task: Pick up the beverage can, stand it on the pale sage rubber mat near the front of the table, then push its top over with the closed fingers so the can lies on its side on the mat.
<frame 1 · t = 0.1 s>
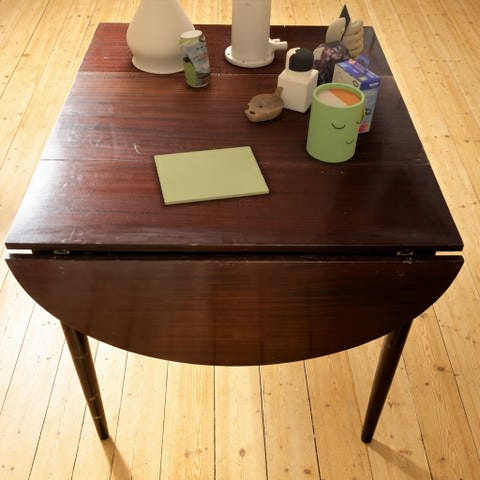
oil lamp: (266, 115, 138), on the table
ink cartridge box: (348, 124, 136), on the table
mineral specimen: (328, 82, 149), on the table
mat: (209, 175, 121), on the table
mug: (335, 148, 129), on the table
beverage can: (196, 84, 147), on the table
vase: (163, 60, 155), on the table
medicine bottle: (295, 103, 142), on the table
decorative object: (341, 62, 157), on the table
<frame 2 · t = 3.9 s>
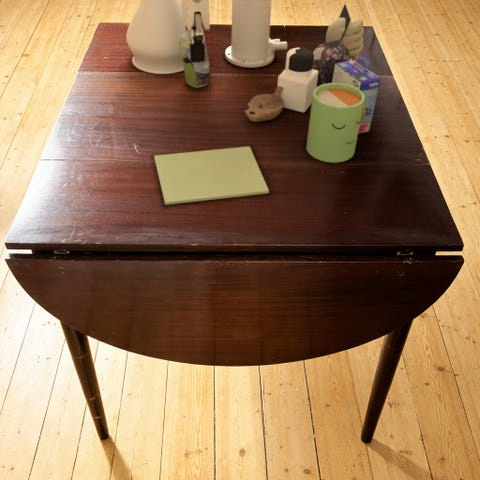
hand: (195, 53, 141), 7 cm above the table, tool pointing down, fingers closed on beverage can, 6 cm apart
beverage can: (196, 84, 146), on the table, touching gripper
everything else where it was.
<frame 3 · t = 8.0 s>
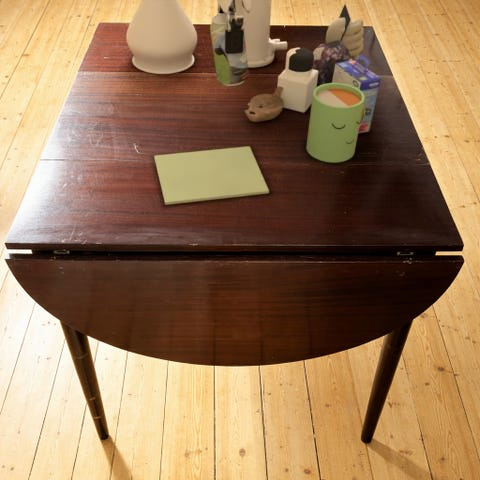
hand: (230, 43, 111), 22 cm above the table, tool pointing down, fingers closed on beverage can, 6 cm apart
beverage can: (229, 82, 116), point 15 cm above the table, touching gripper
everything else where it was.
when the fingers open (8 cm above the table, at t = 12.3 s): beverage can stays where it is, resting on mat.
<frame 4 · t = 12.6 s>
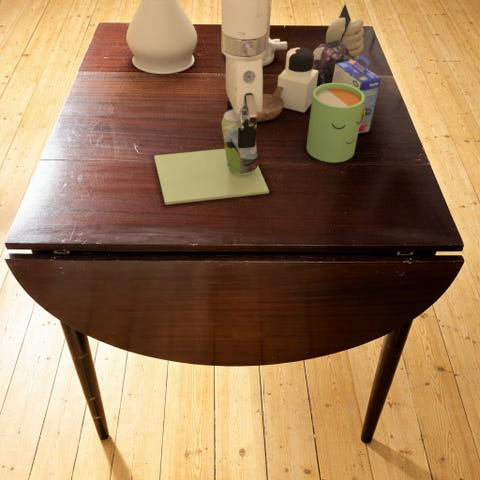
hand: (240, 133, 115), 9 cm above the table, tool pointing down, fingers open, 9 cm apart
beverage can: (239, 170, 121), resting on mat
everything else where it was.
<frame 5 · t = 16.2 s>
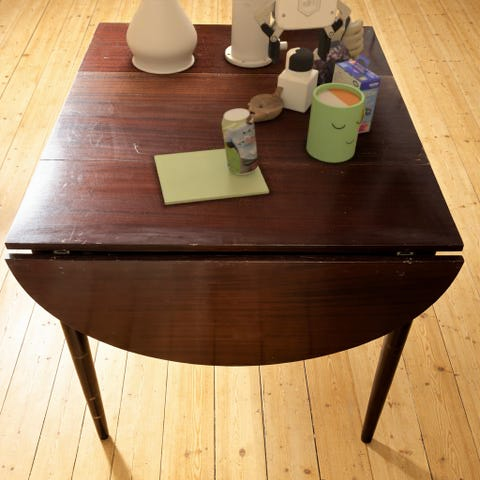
hand: (298, 59, 107), 22 cm above the table, tool pointing down, fingers open, 8 cm apart
nothing on the table moved.
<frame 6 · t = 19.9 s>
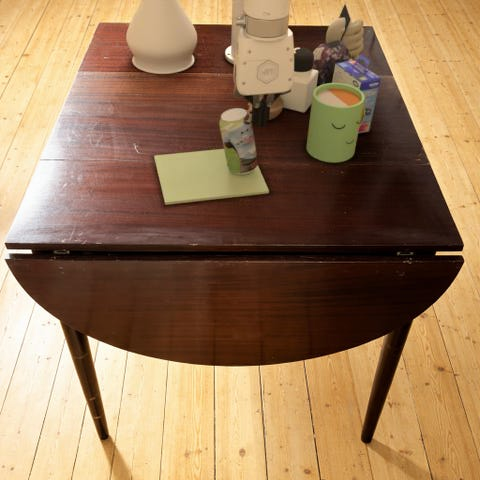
hand: (260, 123, 115), 10 cm above the table, tool pointing down, fingers closed
nothing on the table moved.
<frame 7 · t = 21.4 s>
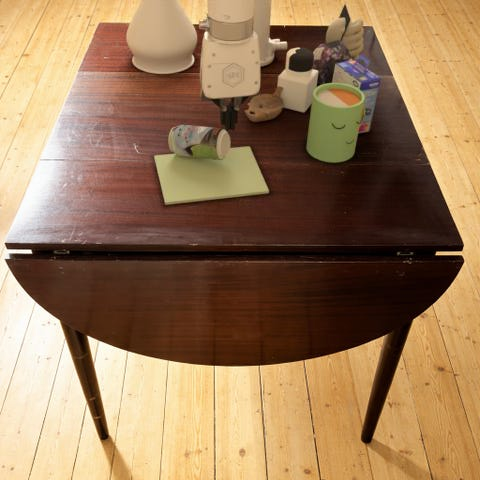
hand: (228, 127, 114), 10 cm above the table, tool pointing down, fingers closed
beverage can: (228, 149, 119), point 4 cm above the table, touching mat
everything else where it was.
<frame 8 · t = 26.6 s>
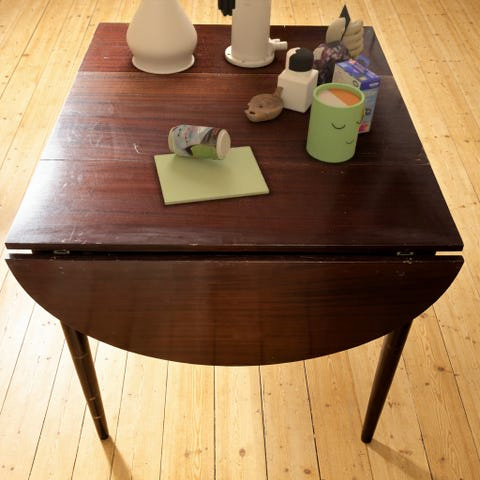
hand: (226, 13, 113), 25 cm above the table, tool pointing down, fingers closed
nothing on the table moved.
at the end: beverage can tilted 90°; beverage can inside the target area on the mat (4.3 cm from its centre), point 4.3 cm above the mat's base; the gripper is holding nothing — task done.
